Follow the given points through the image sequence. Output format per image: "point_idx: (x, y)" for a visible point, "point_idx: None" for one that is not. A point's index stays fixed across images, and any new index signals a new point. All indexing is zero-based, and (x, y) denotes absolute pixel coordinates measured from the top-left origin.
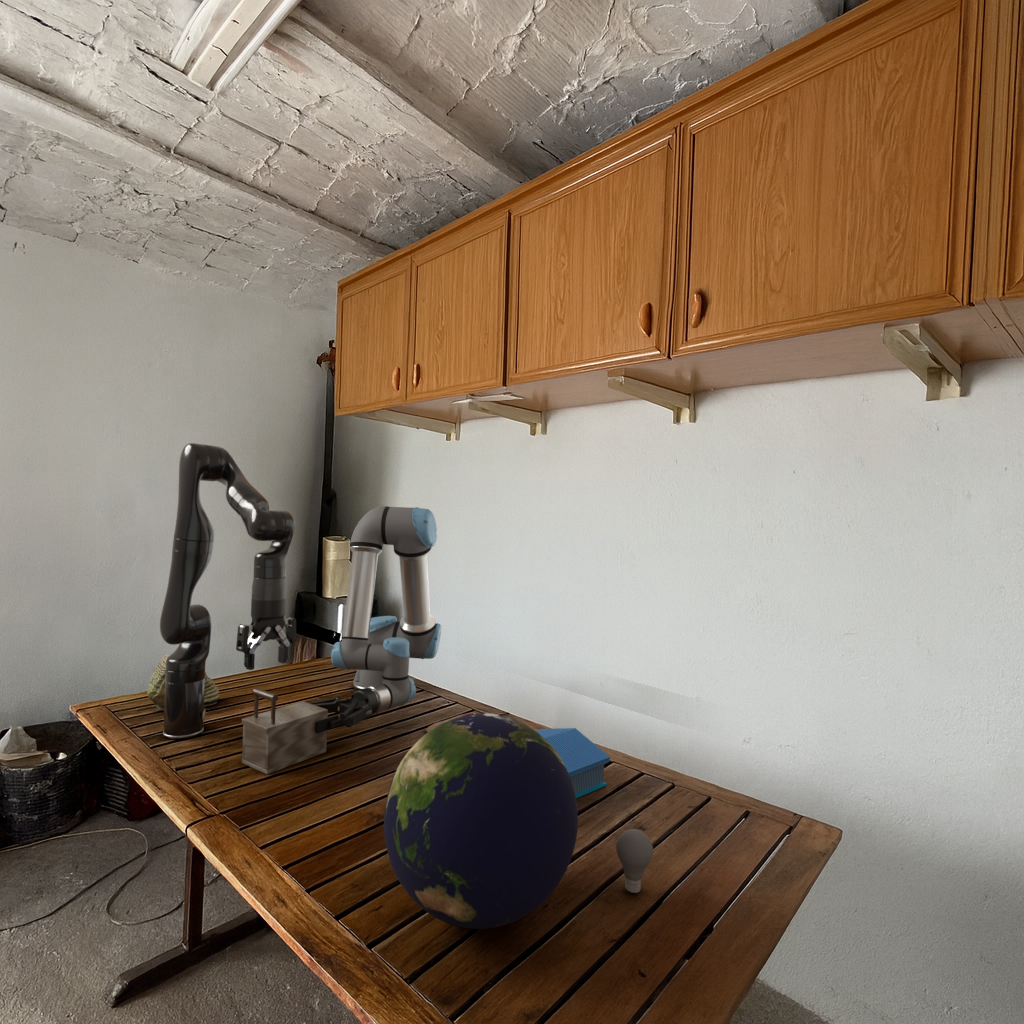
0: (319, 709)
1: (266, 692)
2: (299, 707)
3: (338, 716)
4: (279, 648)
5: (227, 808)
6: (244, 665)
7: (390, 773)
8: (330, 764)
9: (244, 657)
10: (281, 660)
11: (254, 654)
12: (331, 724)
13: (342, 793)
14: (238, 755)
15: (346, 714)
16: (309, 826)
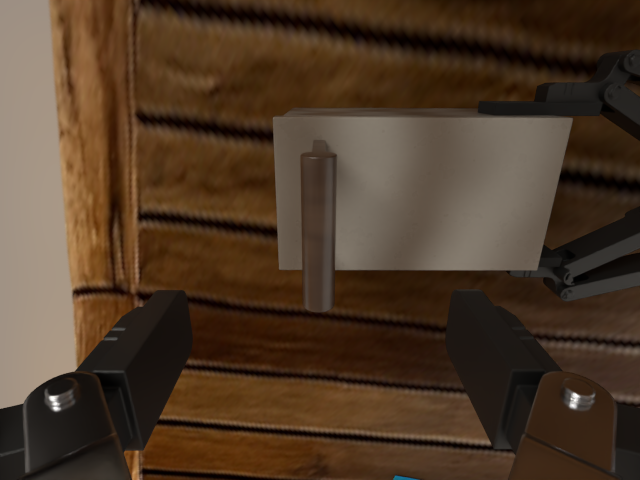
0: (523, 248)
1: (314, 256)
2: (501, 175)
3: (557, 265)
4: (499, 370)
5: (155, 288)
6: (127, 315)
7: (460, 393)
8: (425, 280)
9: (86, 360)
10: (454, 330)
11: (143, 444)
12: (507, 271)
13: (340, 387)
14: (317, 46)
15: (586, 271)
16: (228, 425)
